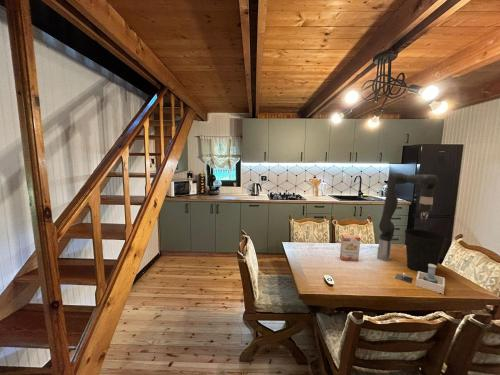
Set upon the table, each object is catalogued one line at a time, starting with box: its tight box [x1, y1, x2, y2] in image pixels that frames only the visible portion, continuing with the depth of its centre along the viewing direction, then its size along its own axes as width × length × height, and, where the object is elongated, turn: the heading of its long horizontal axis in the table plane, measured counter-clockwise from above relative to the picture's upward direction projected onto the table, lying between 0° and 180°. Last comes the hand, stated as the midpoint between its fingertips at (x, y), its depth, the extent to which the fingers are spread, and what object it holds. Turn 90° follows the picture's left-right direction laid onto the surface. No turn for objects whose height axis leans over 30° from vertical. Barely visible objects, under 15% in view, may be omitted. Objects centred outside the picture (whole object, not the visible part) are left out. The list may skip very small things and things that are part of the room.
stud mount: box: [394, 272, 414, 284], centre depth 174 cm, size 10×10×5 cm
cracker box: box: [339, 234, 361, 262], centre depth 205 cm, size 14×6×21 cm, turn 84°
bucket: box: [404, 227, 448, 273], centre depth 190 cm, size 27×28×30 cm
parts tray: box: [415, 271, 446, 295], centre depth 165 cm, size 15×15×6 cm
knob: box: [423, 264, 438, 284], centre depth 165 cm, size 6×6×14 cm
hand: (423, 225), depth 171 cm, fingers open, 8 cm apart
